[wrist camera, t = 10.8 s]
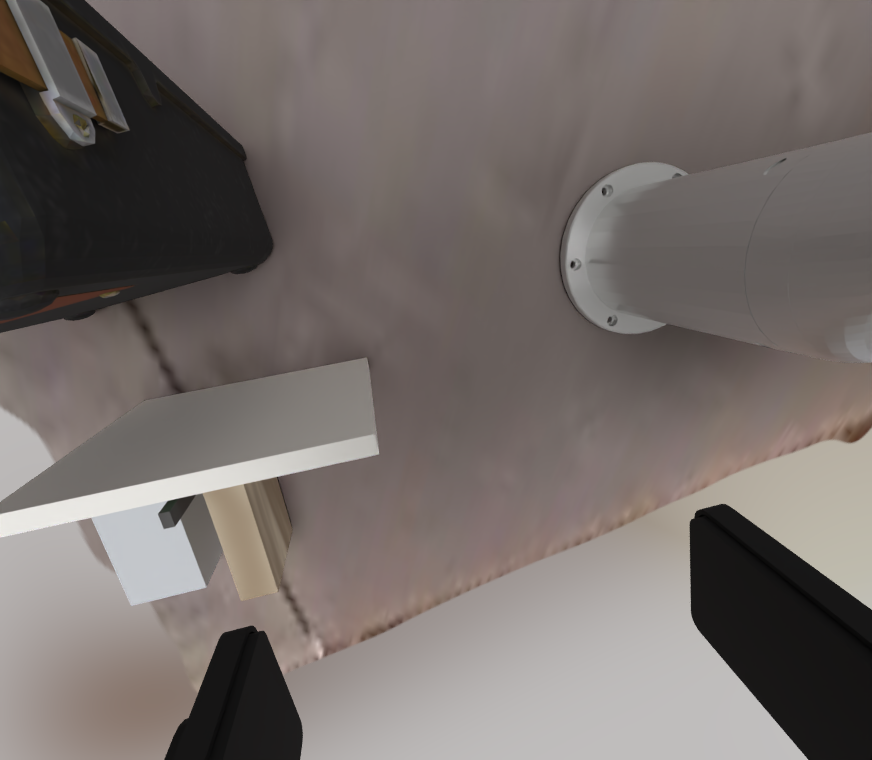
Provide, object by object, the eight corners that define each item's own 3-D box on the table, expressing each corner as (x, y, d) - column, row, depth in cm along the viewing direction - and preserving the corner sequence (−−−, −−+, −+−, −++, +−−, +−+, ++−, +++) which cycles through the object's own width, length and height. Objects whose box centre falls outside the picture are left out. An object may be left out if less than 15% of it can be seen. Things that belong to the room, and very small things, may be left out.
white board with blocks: (367, 357, 34) (374, 433, 20) (397, 503, 38) (422, 655, 23) (99, 408, 32) (-109, 537, 17) (161, 558, 35) (30, 763, 21)
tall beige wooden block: (255, 406, 33) (191, 506, 20) (292, 529, 36) (257, 684, 23) (222, 413, 33) (135, 519, 20) (262, 536, 36) (209, 697, 23)
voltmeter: (241, 125, 28) (-320, -495, 5) (290, 260, 31) (83, 291, 7) (-13, 189, 27) (-2504, -227, 4) (60, 325, 30) (-1076, 611, 6)
